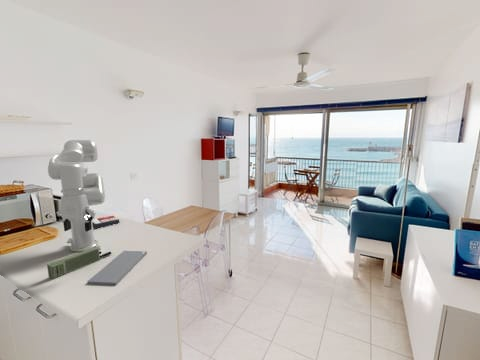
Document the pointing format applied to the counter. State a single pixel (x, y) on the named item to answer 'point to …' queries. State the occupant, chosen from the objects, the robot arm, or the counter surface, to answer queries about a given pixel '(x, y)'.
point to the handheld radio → (74, 262)
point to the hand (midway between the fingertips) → (78, 230)
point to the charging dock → (117, 268)
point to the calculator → (104, 222)
